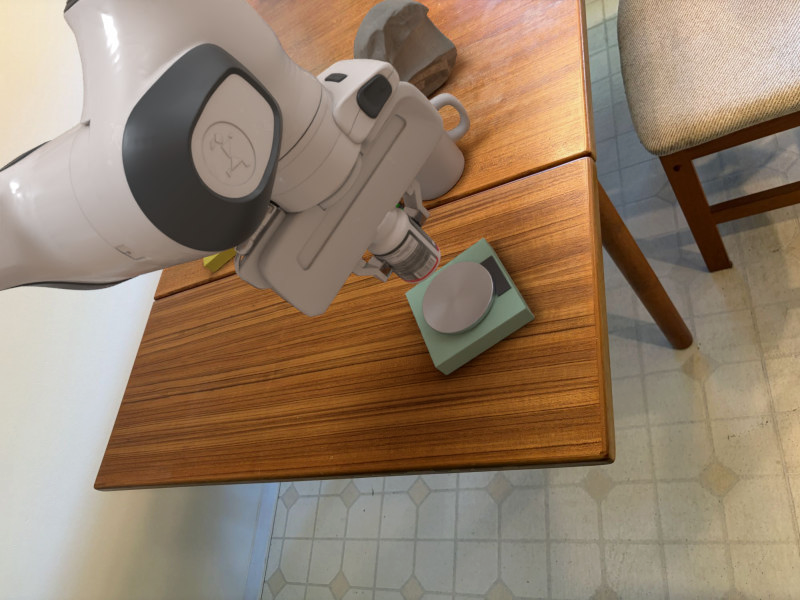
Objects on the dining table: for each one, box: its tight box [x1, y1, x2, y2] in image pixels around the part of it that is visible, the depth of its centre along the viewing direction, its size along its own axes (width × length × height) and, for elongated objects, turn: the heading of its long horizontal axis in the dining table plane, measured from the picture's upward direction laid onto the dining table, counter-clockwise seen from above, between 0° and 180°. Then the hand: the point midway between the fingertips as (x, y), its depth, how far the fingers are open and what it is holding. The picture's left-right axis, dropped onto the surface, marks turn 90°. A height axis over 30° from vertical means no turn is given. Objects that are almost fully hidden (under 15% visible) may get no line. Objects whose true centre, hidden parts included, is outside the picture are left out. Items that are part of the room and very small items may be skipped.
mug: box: [415, 92, 471, 201], centre depth 70 cm, size 12×8×11 cm
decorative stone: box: [353, 0, 458, 98], centre depth 81 cm, size 12×17×15 cm
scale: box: [404, 237, 536, 376], centre depth 60 cm, size 11×11×3 cm
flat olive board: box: [202, 247, 237, 273], centre depth 96 cm, size 12×2×24 cm
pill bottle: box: [366, 207, 442, 284], centre depth 50 cm, size 5×5×8 cm
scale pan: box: [422, 262, 495, 335], centre depth 59 cm, size 8×8×1 cm
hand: (403, 246), depth 51 cm, fingers closed on pill bottle, 5 cm apart
